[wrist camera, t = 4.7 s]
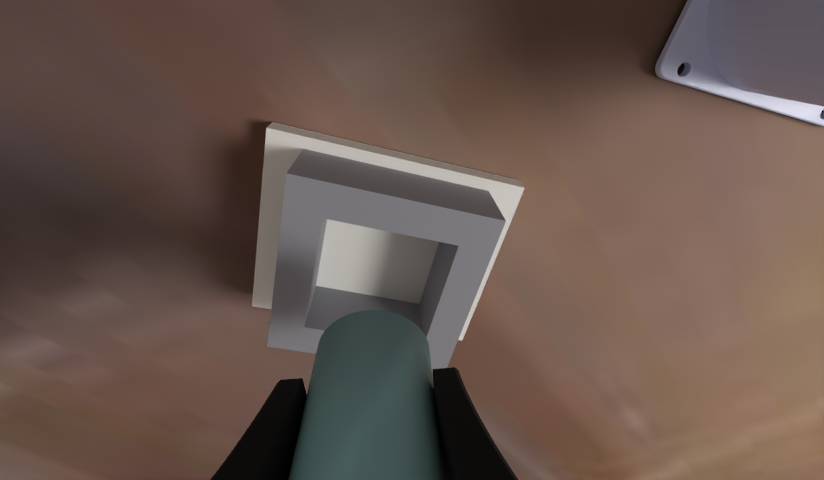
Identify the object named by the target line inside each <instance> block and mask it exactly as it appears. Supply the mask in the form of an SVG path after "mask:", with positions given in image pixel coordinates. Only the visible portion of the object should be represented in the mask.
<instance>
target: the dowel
mask: <svg viewBox="0 0 824 480" xmlns="http://www.w3.org/2000/svg"><path fill="white" fill-rule="evenodd" d="M288 480H444V471H443V462H442V454H441V445H440V437H439V428H438V422H437V415H436V406H435V397H434V389H433V376H432V368H431V359H430V351H429V344H428V340H427V338H426V336H425V334H424V333H423V331H422V330H421V329H420V328H419V327H418V326H417V325H416V324H415V323H413V322H412V321H411V320H409V319H407V318H406V317H403V316H401V315H399V314H396V313H392V312H388V311H381V310H366V311H359V312H355V313H351V314H348V315H346V316H344V317H341V318H339V319H338V320H336V321H335V322H333V323H332V324H331V325H330V326H329V327H328V328H327V329H326V330H325V331H324V333H323V334H322V336H321V338H320V340H319V344H318V348H317V352H316V357H315V361H314V366H313V370H312V375H311V379H310V384H309V389H308V393H307V398H306V402H305V407H304V411H303V416H302V420H301V425H300V429H299V434H298V438H297V443H296V447H295V452H294V457H293V461H292V466H291V470H290V475H289V479H288Z"/></svg>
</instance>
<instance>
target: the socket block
mask: <svg viewBox="0 0 824 480" xmlns="http://www.w3.org/2000/svg"><path fill="white" fill-rule="evenodd" d="M523 191H524V186H523V185H522V184H521V183H520V181H519V180H517V179H512V178H508V177H504V176H500V175H495V174H491V173H487V172H483V171H478V170H474V169H470V168H466V167H462V166H457V165H453V164H449V163H445V162H440V161H436V160H432V159H428V158H423V157H419V156H415V155H411V154H406V153H402V152H398V151H394V150H389V149H385V148H381V147H377V146H373V145H368V144H364V143H360V142H356V141H351V140H347V139H343V138H339V137H334V136H330V135H326V134H322V133H317V132H313V131H309V130H305V129H301V128H296V127H292V126H288V125H284V124H279V123H275V122H272V123H271V124H270V125H269V126H268V127H267V128H266V139H265V151H264V163H263V176H262V188H261V200H260V213H259V225H258V237H257V250H256V262H255V275H254V287H253V299H252V306H255V307H261V308H267V309H271V317H270V326H269V335H268V344H267V346H268V347H274V348H281V349H288V350H294V351H301V352H308V353H314V354H316V352H317V348H318V344H319V340H320V338H321V336H322V334H323V333H324V331H325V330H326V329H327V328H328V327H329V326H330V325H331V324H332V323H333V322H335V321H336V320H338V319H339V318H341V317H344V316H346V315H348V314H351V313H355V312H359V311H366V310H381V311H388V312H392V313H396V314H399V315H401V316H403V317H406V318H407V319H409V320H411V321H412V322H413V323H415V324H416V325H417V326H418V327H419V328H420V329H421V330H422V331H423V333H424V334H425V336H426V338H427V340H428V344H429V351H430V359H431V368H432V371H433V369H440V368H447V366H448V364H449V361H450V359H451V356H452V354H453V351H454V349H455V346H456V344H457V341H458V340H463V337H464V335H465V332H466V330H467V328H468V325H469V323H470V320H471V318H472V315H473V313H474V310H475V308H476V306H477V303H478V301H479V298H480V296H481V293H482V291H483V288H484V286H485V284H486V281H487V279H488V276H489V274H490V271H491V269H492V266H493V264H494V262H495V259H496V257H497V254H498V252H499V249H500V247H501V245H502V242H503V240H504V237H505V235H506V232H507V230H508V227H509V225H510V223H511V220H512V218H513V215H514V213H515V210H516V208H517V205H518V203H519V201H520V198H521V196H522V193H523Z"/></svg>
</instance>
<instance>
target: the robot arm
mask: <svg viewBox="0 0 824 480" xmlns="http://www.w3.org/2000/svg"><path fill="white" fill-rule="evenodd" d="M682 63H684V66H685V67H684V70H683V71H682V73H681V74H679V75H678V73H677V70H678V67H679V66H680V65H681V64H682ZM655 73H656V74H657V76H658V77H660V78H661V79H665V80H668V81H672V82H675V83H678V84H682V85H685V86H688V87H692V88H695V89H698V90H702V91H705V92H709V93H712V94H715V95H719V96H722V97H725V98H729V99H732V100H735V101H739V102H742V103H746V104H749V105H752V106H756V107H759V108H762V109H766V110H769V111H772V112H776V113H779V114H783V115H786V116H789V117H793V118H796V119H799V120H803V121H806V122H809V123H813V124H816V125H820V126H823V127H824V112H823V113H822V114H821V112H822V111H823V110H824V0H687V2H686V4H685V6H684V8H683V10H682V12H681V14H680V16H679V18H678V20H677V22H676V24H675V26H674V28H673V31H672V33H671V35H670V37H669V39H668V41H667V43H666V45H665V47H664V49H663V51H662V53H661V55H660V57H659V59H658V61H657V63H656V66H655ZM820 114H821V115H820ZM433 389H434V397H435V406H436V415H437V422H438V428H439V437H440V445H441V454H442V462H443V471H444V480H518V479H517V477H516V476H515V474H514V473H513V471H512V470H511V468H510V467H509V465H508V464H507V462H506V460H505V459H504V457H503V456H502V454H501V453H500V451H499V449H498V448H497V446H496V445H495V443H494V441H493V440H492V438H491V436H490V434H489V433H488V431H487V429H486V427H485V426H484V424H483V422H482V421H481V419H480V417H479V415H478V413H477V411H476V409H475V407H474V405H473V403H472V401H471V399H470V397H469V395H468V393H467V391H466V389H465V386H464V384H463V382H462V379H461V376H460V374H459V371H458V370H457V369H456V368H455V367H454V368H440V369H433ZM306 398H307V394H306V390H305V387H304V383H303V379H302V378H300V379H286V380H280V381H279V382H278V383H277V384H276V386H275V388H274V389H273V391H272V392H271V394H270V396H269V397H268V399H267V400H266V402H265V403H264V405H263V406H262V408H261V410H260V411H259V413H258V414H257V416H256V417H255V419H254V420H253V422H252V423H251V425H250V426H249V428H248V429H247V430H246V432H245V433H244V435H243V436H242V438H241V439H240V440H239V442H238V443H237V445H236V446H235V447H234V449H233V450H232V452H231V453H230V455H229V456H228V457H227V459H226V460H225V461H224V463H223V464H222V465H221V467H220V468H219V469H218V471H217V472H216V473H215V474H214V476H213V477H212V478H211V480H288V479H289V475H290V470H291V466H292V461H293V457H294V452H295V447H296V443H297V438H298V434H299V429H300V425H301V420H302V416H303V411H304V407H305V402H306Z"/></svg>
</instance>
